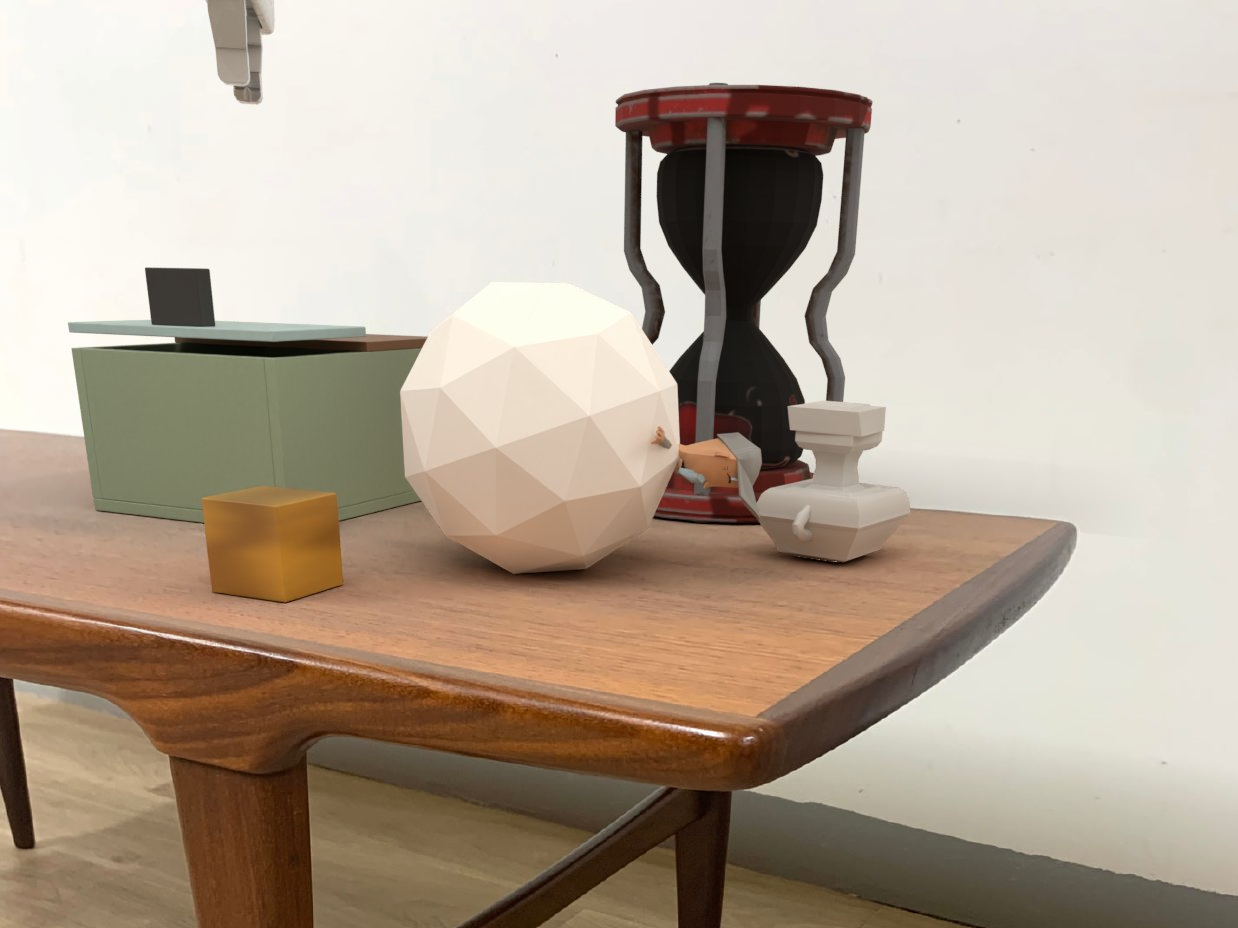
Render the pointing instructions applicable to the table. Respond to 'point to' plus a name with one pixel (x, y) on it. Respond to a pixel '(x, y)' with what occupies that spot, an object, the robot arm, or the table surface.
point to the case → (245, 421)
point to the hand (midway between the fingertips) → (242, 94)
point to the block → (273, 542)
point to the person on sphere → (550, 429)
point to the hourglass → (740, 256)
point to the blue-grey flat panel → (202, 315)
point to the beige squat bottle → (833, 487)
